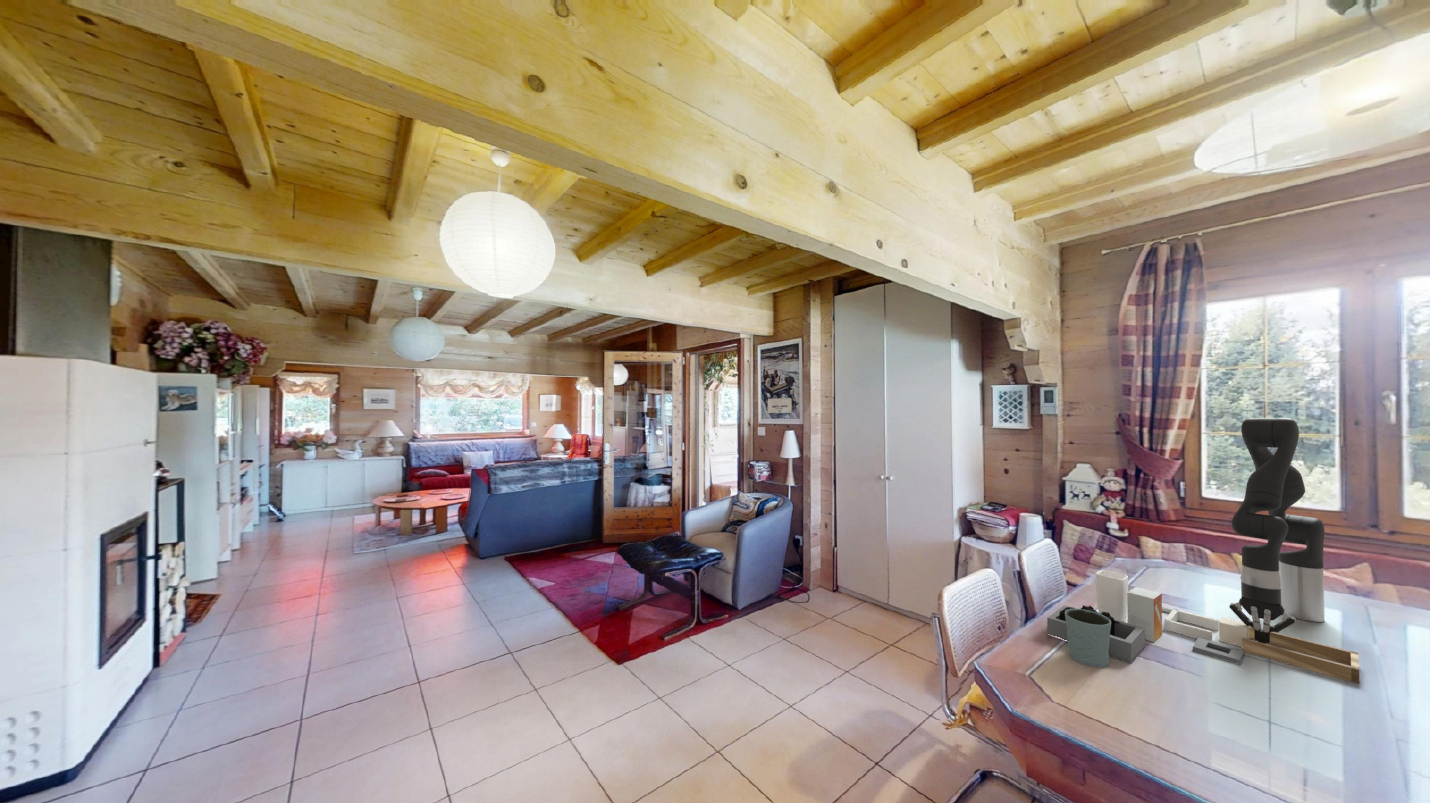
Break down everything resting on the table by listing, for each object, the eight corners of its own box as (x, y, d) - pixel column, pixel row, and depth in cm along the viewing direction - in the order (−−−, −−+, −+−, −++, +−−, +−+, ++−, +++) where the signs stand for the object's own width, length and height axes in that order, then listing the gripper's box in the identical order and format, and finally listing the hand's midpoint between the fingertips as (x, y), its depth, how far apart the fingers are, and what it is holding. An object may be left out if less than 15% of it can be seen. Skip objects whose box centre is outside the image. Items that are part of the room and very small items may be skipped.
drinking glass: (1104, 654, 131) (1104, 612, 131) (1118, 673, 122) (1117, 627, 122) (1061, 646, 135) (1060, 605, 136) (1070, 664, 126) (1070, 620, 126)
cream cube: (1221, 634, 142) (1221, 616, 142) (1249, 641, 138) (1248, 623, 138) (1219, 640, 139) (1218, 621, 139) (1247, 647, 134) (1246, 628, 134)
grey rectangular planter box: (1064, 622, 151) (1064, 605, 151) (1145, 646, 135) (1144, 628, 135) (1047, 635, 142) (1047, 617, 142) (1131, 663, 126) (1131, 643, 126)
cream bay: (1173, 617, 153) (1173, 608, 154) (1218, 629, 145) (1218, 619, 145) (1164, 629, 146) (1164, 619, 146) (1211, 642, 137) (1211, 632, 137)
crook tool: (1156, 609, 160) (1156, 605, 160) (1212, 621, 150) (1212, 618, 150) (1156, 613, 157) (1156, 609, 157) (1213, 625, 148) (1213, 622, 148)
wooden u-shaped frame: (1247, 636, 140) (1247, 625, 140) (1358, 665, 125) (1358, 652, 125) (1242, 651, 132) (1242, 638, 133) (1359, 683, 117) (1359, 669, 117)
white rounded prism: (1130, 620, 151) (1129, 575, 152) (1122, 626, 147) (1122, 580, 148) (1102, 612, 158) (1101, 568, 158) (1094, 618, 153) (1093, 573, 154)
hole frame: (1198, 640, 138) (1198, 636, 138) (1244, 653, 131) (1244, 649, 131) (1192, 650, 133) (1192, 646, 133) (1239, 664, 126) (1239, 660, 126)
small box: (1154, 642, 137) (1154, 598, 138) (1127, 634, 143) (1126, 591, 143) (1163, 635, 142) (1162, 592, 142) (1135, 627, 147) (1135, 586, 147)
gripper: (1297, 586, 131) (1299, 648, 131) (1228, 573, 142) (1229, 630, 141) (1296, 593, 126) (1298, 657, 126) (1225, 579, 137) (1226, 638, 137)
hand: (1262, 643), depth 134 cm, fingers closed
